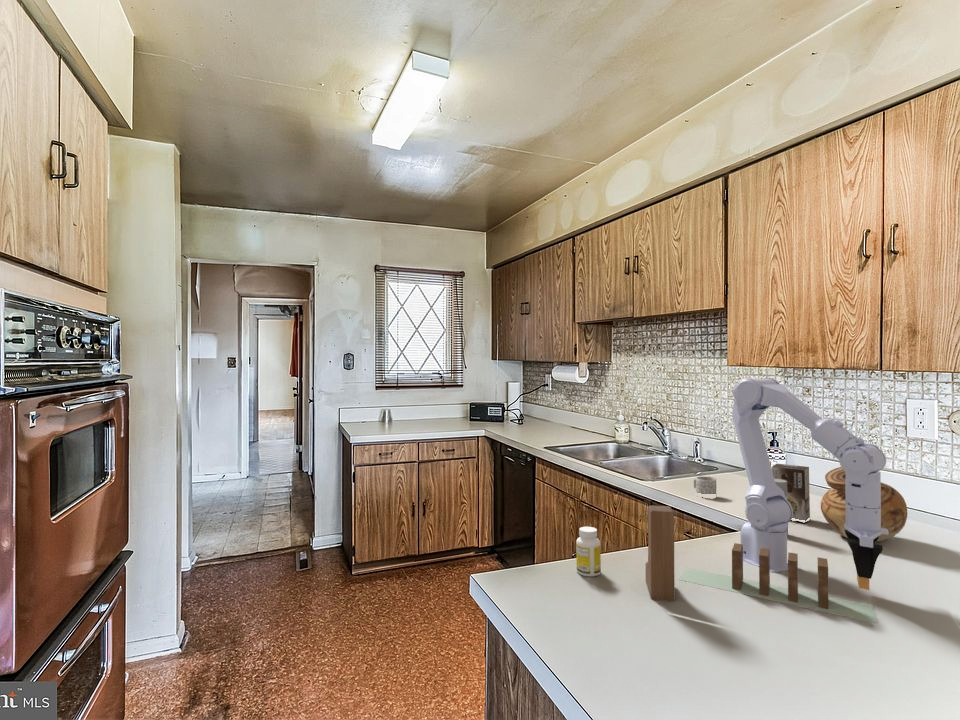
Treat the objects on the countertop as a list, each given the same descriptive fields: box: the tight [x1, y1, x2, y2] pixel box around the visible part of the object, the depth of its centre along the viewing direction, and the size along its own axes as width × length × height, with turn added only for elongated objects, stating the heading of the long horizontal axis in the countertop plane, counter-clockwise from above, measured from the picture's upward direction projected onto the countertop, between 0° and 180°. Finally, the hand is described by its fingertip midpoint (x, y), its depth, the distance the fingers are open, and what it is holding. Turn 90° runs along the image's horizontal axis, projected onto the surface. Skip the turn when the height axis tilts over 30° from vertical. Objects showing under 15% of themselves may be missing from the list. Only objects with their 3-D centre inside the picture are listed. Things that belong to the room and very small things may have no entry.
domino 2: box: [758, 548, 771, 596], centre depth 104 cm, size 2×5×8 cm, turn 147°
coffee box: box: [771, 463, 811, 521], centre depth 155 cm, size 9×6×16 cm
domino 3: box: [787, 551, 799, 603], centre depth 101 cm, size 2×5×8 cm, turn 147°
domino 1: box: [731, 542, 744, 590], centre depth 107 cm, size 2×5×8 cm, turn 147°
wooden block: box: [645, 505, 675, 602], centre depth 104 cm, size 9×4×18 cm, turn 169°
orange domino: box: [856, 573, 870, 590], centre depth 102 cm, size 2×5×8 cm, turn 147°
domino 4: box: [817, 556, 829, 609], centre depth 99 cm, size 2×5×8 cm, turn 147°
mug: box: [692, 475, 717, 495], centre depth 182 cm, size 10×7×7 cm, turn 13°
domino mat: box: [678, 567, 878, 624], centre depth 103 cm, size 34×8×1 cm, turn 57°
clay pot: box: [820, 466, 909, 542], centre depth 136 cm, size 19×19×20 cm
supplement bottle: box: [575, 526, 602, 577], centre depth 114 cm, size 5×5×10 cm
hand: (863, 572), depth 102 cm, fingers closed on orange domino, 5 cm apart
